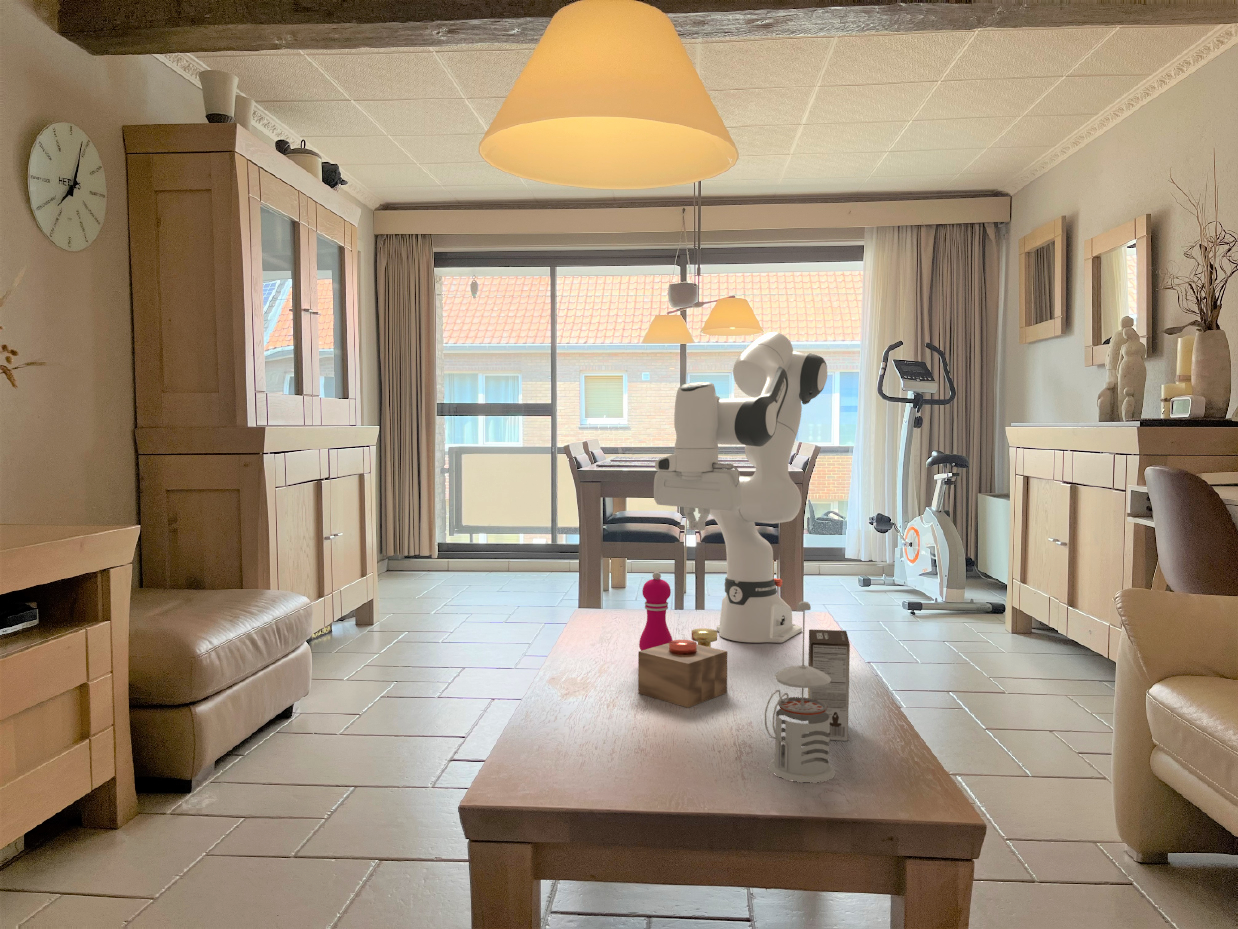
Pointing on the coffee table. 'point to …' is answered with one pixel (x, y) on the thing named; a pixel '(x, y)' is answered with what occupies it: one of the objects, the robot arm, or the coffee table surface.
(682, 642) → the red round-headed grey cylinder
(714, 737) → the coffee table surface
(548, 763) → the coffee table surface
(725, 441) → the robot arm
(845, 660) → the coffee box
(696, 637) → the brass pin
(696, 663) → the hitch block
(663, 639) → the pepper mill
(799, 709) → the french press
